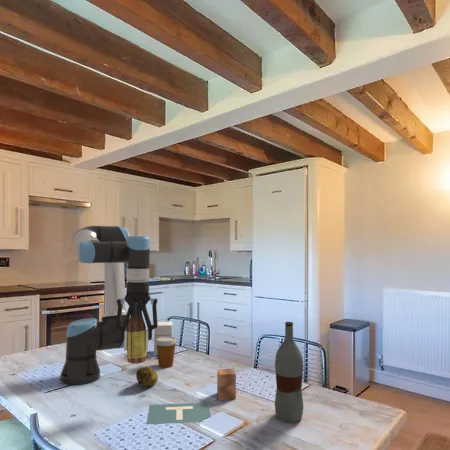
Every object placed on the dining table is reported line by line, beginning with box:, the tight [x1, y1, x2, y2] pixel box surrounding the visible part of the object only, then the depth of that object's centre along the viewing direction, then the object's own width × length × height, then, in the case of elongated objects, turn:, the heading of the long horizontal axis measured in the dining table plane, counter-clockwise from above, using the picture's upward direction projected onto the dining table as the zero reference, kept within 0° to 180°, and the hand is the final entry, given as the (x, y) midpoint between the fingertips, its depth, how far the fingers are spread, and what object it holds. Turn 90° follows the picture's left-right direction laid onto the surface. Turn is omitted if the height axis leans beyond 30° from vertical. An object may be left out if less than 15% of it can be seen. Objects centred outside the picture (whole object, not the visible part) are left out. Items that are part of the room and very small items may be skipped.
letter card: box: [146, 402, 212, 425], centre depth 122 cm, size 20×14×1 cm
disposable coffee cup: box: [156, 336, 178, 369], centre depth 170 cm, size 10×10×12 cm
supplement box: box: [153, 321, 173, 357], centre depth 190 cm, size 9×9×15 cm
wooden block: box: [216, 368, 237, 401], centre depth 136 cm, size 6×6×9 cm
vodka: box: [274, 321, 304, 423], centre depth 121 cm, size 9×9×30 cm
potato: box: [135, 365, 159, 387], centre depth 146 cm, size 8×13×8 cm, turn 155°
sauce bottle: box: [126, 303, 147, 365], centre depth 127 cm, size 6×6×20 cm
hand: (136, 349), depth 127 cm, fingers closed on sauce bottle, 6 cm apart
